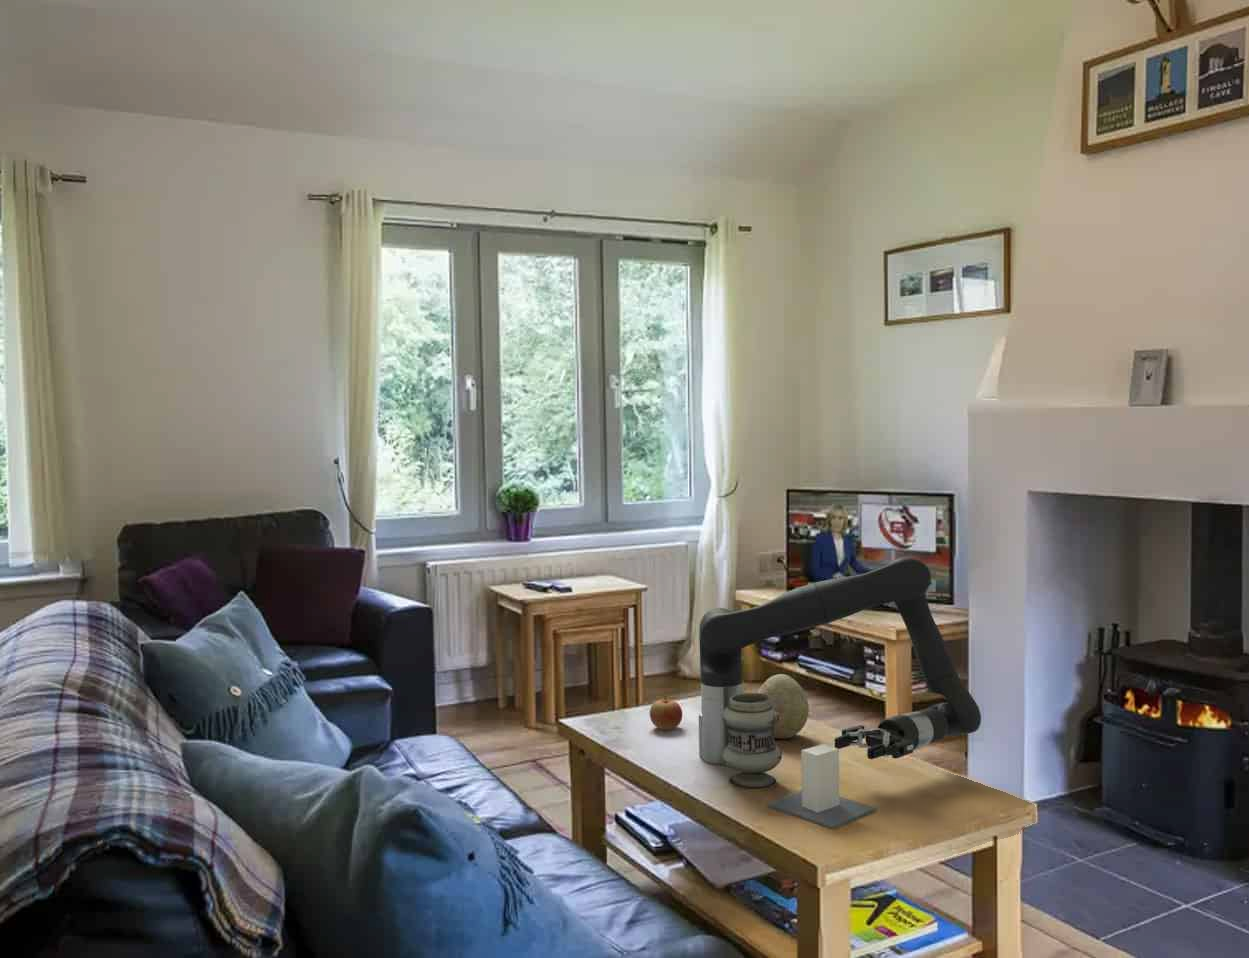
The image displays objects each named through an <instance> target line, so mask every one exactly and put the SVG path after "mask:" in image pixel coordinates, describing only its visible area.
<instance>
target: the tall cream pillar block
mask: <svg viewBox="0 0 1249 958" xmlns="http://www.w3.org/2000/svg"><path fill="white" fill-rule="evenodd" d="M839 751H840V749H837V748H835V746H830V745H827V744H825V743H822V744H820V745H819V744H818V745H815V746H811V747H808V748H804V749H801V757H800V758H801V790H802V807H805V808H807V809H810V810H812V811H815V812H820V811H823V810H826V809H829V808H832V807H835V806H839V805H840V804H839V796H840V759H839V758H840V757H839V756H840V753H839Z"/></svg>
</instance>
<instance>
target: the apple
mask: <svg viewBox="0 0 1249 958" xmlns="http://www.w3.org/2000/svg"><path fill="white" fill-rule="evenodd" d="M663 697H664V699H663V698H662V699H659V700H655V701H654V702H653V703H652V704H651V705H650V709H649V717H650V721H651V723H652V724H653V726H654V727H656V728H658V729H661V730H673V729H675V728H677V727H678V726H679V725H680V724H681V722H682V719H683V710H682V707H681V706H680V704H679V703H678V702H677V701H675V700H671V699H668V698H667V696H666V695H664V696H663Z"/></svg>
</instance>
